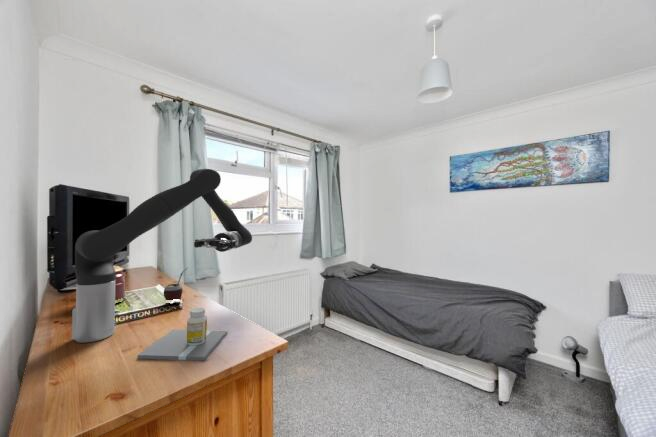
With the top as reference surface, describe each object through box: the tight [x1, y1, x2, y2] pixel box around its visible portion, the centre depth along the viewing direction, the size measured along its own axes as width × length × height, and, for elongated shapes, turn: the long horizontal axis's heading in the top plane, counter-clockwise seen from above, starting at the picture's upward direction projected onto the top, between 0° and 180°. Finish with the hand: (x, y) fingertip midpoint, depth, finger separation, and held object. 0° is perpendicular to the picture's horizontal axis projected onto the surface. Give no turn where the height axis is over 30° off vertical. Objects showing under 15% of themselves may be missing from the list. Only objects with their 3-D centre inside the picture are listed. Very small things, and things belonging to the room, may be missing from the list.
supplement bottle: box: [186, 307, 208, 346], centre depth 79 cm, size 5×5×10 cm
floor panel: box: [137, 329, 228, 362], centre depth 79 cm, size 18×16×1 cm
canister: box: [113, 265, 127, 300], centre depth 113 cm, size 13×13×18 cm
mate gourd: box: [163, 267, 188, 301], centre depth 115 cm, size 8×8×15 cm
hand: (207, 245), depth 92 cm, fingers open, 8 cm apart
